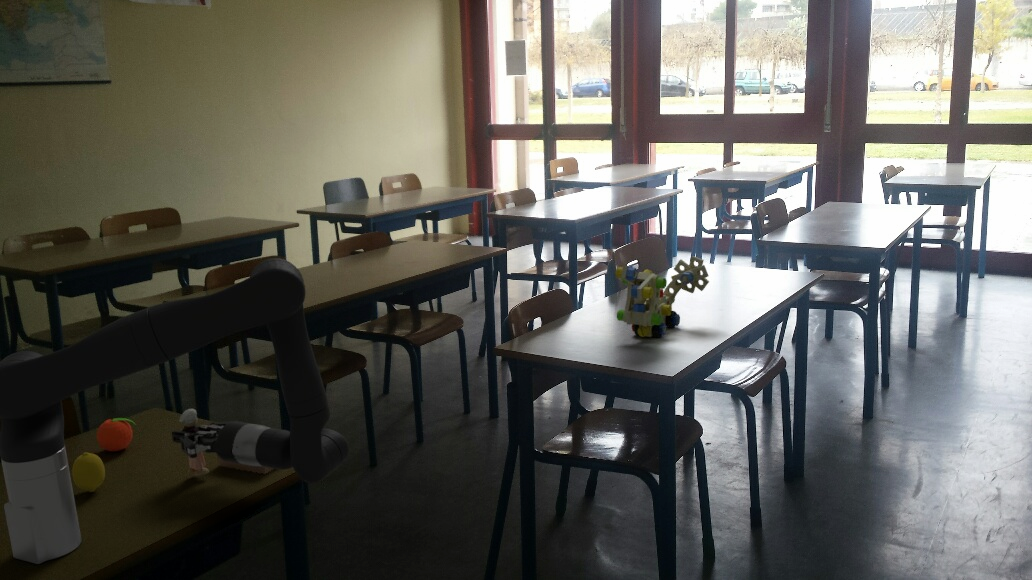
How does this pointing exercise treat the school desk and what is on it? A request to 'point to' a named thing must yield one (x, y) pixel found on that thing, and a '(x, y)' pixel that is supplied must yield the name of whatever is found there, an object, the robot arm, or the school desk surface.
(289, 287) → the robot arm
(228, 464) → the plinth
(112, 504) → the school desk surface
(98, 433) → the clementine
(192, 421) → the grandmother figurine
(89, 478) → the lemon
